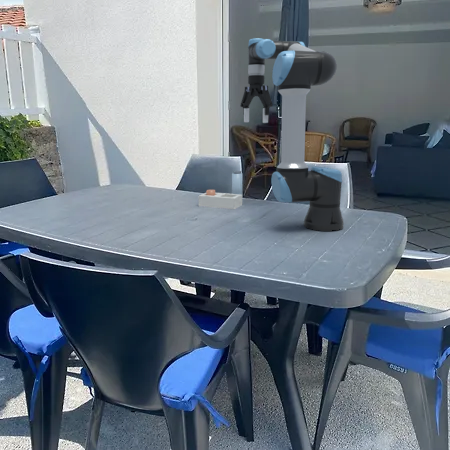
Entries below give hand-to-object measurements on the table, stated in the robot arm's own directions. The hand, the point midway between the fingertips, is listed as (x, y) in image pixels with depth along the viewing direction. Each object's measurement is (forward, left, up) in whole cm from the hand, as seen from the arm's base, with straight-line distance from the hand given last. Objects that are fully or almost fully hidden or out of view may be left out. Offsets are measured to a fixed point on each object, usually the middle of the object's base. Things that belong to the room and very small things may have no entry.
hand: (255, 122), depth 203 cm
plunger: (-17, +16, -36) cm, 43 cm away
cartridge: (-6, +7, -39) cm, 40 cm away
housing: (-17, +11, -39) cm, 44 cm away
